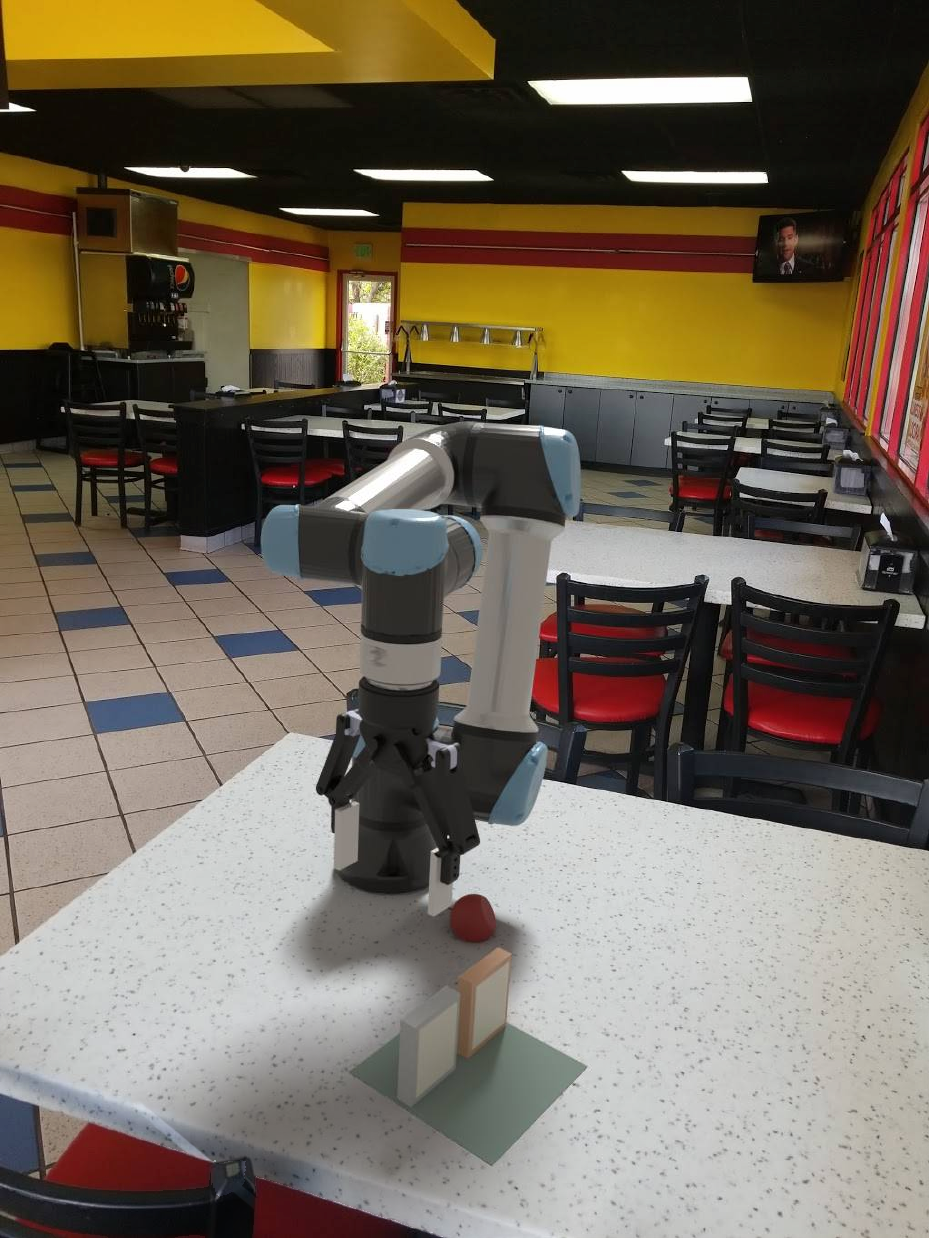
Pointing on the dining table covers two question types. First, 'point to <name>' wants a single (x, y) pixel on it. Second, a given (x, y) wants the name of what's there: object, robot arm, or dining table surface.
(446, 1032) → the white flat block
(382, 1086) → the mat
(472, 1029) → the terracotta tile
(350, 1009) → the dining table surface
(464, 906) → the fruit
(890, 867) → the dining table surface
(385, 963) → the dining table surface
